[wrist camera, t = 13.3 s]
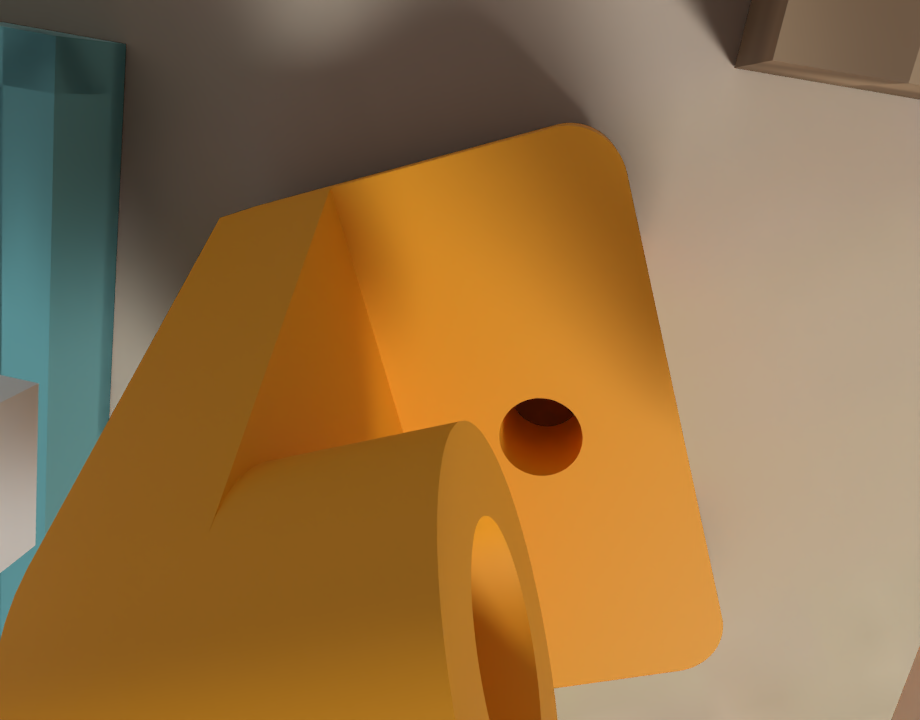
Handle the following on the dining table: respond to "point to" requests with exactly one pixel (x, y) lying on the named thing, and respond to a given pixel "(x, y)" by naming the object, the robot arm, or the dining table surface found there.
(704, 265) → the dining table surface
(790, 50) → the tan square sleeve
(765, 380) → the dining table surface
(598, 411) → the bracket
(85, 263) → the tray
